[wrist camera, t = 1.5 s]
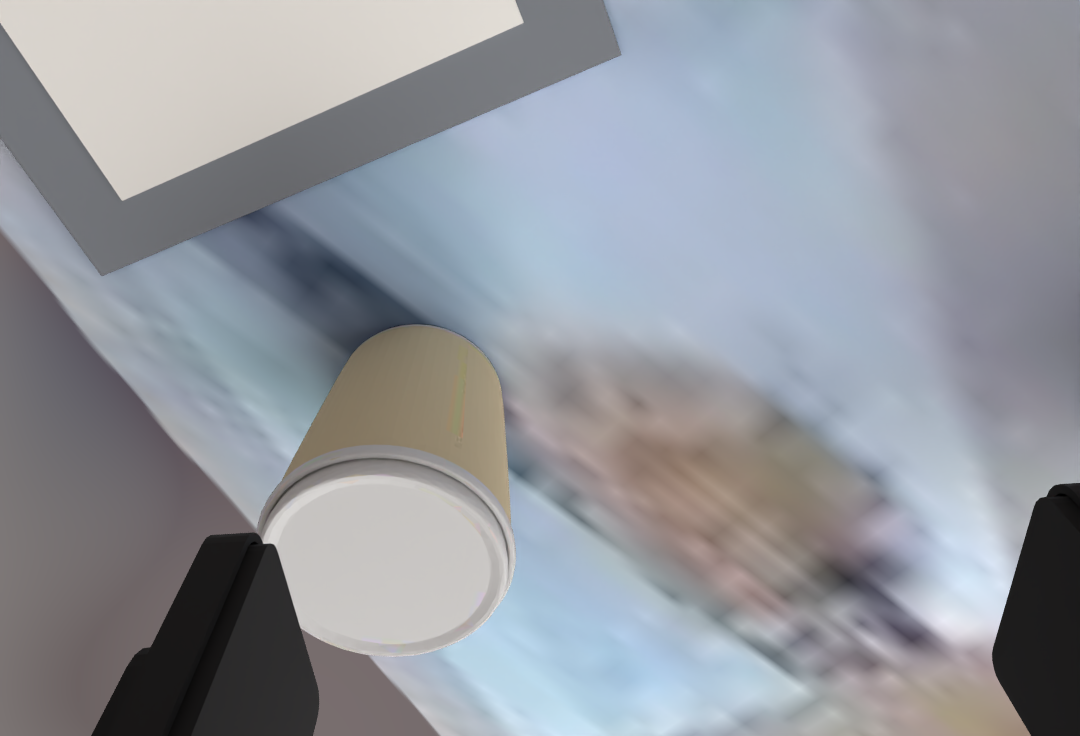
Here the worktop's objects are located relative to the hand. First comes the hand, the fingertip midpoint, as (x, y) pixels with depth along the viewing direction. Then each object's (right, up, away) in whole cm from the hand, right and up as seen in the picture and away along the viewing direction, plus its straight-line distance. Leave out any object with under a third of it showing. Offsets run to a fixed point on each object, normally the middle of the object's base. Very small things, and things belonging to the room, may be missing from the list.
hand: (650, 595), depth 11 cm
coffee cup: (-7, +2, +30) cm, 31 cm away
